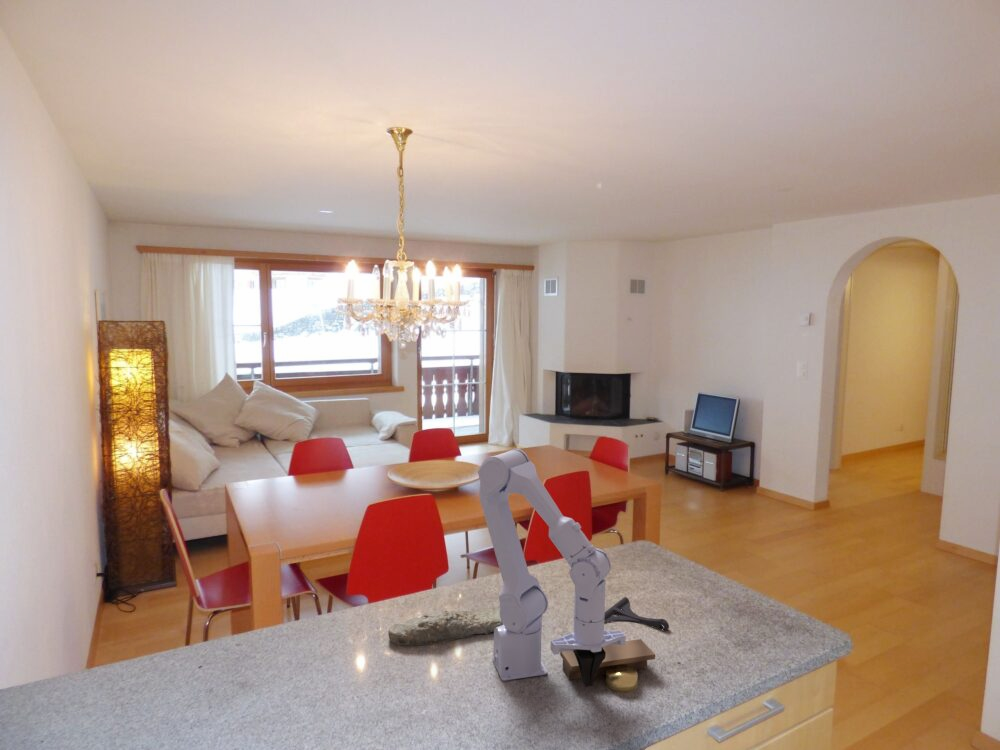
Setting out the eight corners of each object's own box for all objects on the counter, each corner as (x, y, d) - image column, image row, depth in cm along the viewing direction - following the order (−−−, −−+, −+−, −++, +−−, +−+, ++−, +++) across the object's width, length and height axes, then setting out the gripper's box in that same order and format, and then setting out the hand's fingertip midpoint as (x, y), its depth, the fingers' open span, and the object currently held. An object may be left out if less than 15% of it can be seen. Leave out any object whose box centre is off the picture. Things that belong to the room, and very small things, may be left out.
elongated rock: (544, 634, 141) (527, 617, 151) (545, 612, 141) (528, 595, 150) (392, 653, 129) (384, 633, 138) (393, 629, 129) (385, 609, 138)
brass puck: (614, 695, 117) (614, 683, 116) (600, 677, 122) (601, 665, 122) (642, 691, 118) (643, 678, 118) (628, 673, 124) (628, 661, 124)
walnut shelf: (570, 686, 119) (571, 666, 119) (559, 668, 125) (560, 650, 124) (654, 673, 124) (655, 654, 123) (639, 657, 130) (640, 639, 129)
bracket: (654, 646, 135) (654, 634, 135) (594, 624, 144) (595, 613, 144) (679, 621, 147) (680, 610, 146) (622, 603, 156) (623, 592, 155)
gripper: (560, 630, 111) (558, 701, 112) (634, 621, 114) (631, 690, 116) (547, 612, 117) (545, 679, 119) (617, 603, 121) (614, 669, 122)
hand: (587, 683), depth 118 cm, fingers closed
